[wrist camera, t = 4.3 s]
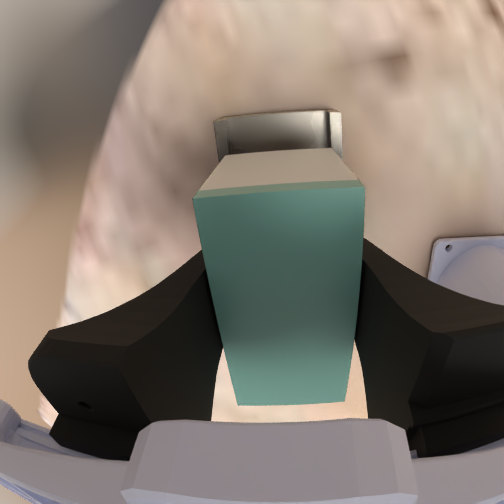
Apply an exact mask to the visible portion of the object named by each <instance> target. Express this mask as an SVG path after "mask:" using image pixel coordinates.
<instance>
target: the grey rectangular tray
mask: <svg viewBox="0 0 504 504" xmlns="http://www.w3.org/2000/svg"><path fill="white" fill-rule="evenodd" d="M214 129H215V136H216V144H217V151H218V158H219V163H220V162H221V160H222V159H223V158H224V157H225V155H234V154H245V153H255V152H267V151H281V150H297V149H316V148H332V149H333V150H334V151H335V152H336V153H337V154H338V156H339V157H340V158H341V159H342V160H343V145H342V124H341V112H339V111H336V110H334V109H321V110H298V111H282V112H269V113H257V114H247V115H238V116H229V117H222V118H220V119H218V120H216V121H214Z"/></svg>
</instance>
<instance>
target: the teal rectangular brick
mask: <svg viewBox="0 0 504 504" xmlns="http://www.w3.org/2000/svg"><path fill="white" fill-rule="evenodd" d="M192 200H193V205H194V210H195V216H196V221H197V226H198V231H199V237H200V242H201V247H202V252H203V257H204V262H205V266H206V271H207V276H208V281H209V285H210V290H211V295H212V299H213V304H214V308H215V313H216V317H217V322H218V326H219V331H220V335H221V339H222V343H223V348H224V352H225V356H226V360H227V364H228V368H229V372H230V376H231V381H232V384H233V388H234V392H235V396H236V400H237V404H238V405H299V404H317V403H331V402H343V401H345V396H346V390H347V384H348V378H349V372H350V366H351V359H352V352H353V345H354V337H355V329H356V320H357V311H358V302H359V291H360V280H361V267H362V252H363V233H364V206H365V187H364V185H363V184H362V183H361V182H360V181H359V179H358V178H357V177H356V176H355V174H354V173H353V172H352V171H351V170H350V168H349V167H348V166H347V165H346V164H345V163H344V161H343V160H342V159H341V158H340V157H339V156H338V154H337V153H336V152H335V151H334V150H333V149H332V148H316V149H297V150H281V151H267V152H255V153H245V154H234V155H225V157H224V158H223V159H222V160H221V162H220V163H219V164H218V165H217V167H216V168H215V169H214V171H213V172H212V173H211V175H210V176H209V177H208V178H207V180H206V181H205V182H204V184H203V185H202V186H201V188H200V189H199V190H198V192H197V193H196V194H195V196H194V197H193V198H192Z"/></svg>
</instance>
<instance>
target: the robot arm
mask: <svg viewBox="0 0 504 504" xmlns="http://www.w3.org/2000/svg"><path fill="white" fill-rule="evenodd" d="M449 244H450V245H449ZM447 245H449V247H448V248H447V249H445V248H446V246H447ZM354 340H355V343H356V347H357V350H358V354H359V357H360V361H361V366H362V371H363V378H364V385H365V393H366V402H367V411H368V419H358V418H347V419H337V420H324V421H309V422H284V423H239V422H214V421H211V416H212V407H213V398H214V390H215V382H216V375H217V370H218V365H219V361H220V357H221V353H222V349H223V343H222V339H221V335H220V331H219V326H218V322H217V317H216V313H215V308H214V304H213V299H212V295H211V290H210V285H209V281H208V276H207V271H206V266H205V262H204V257H203V252H202V250H201V251H200V252H198V253H197V254H196V255H195V256H193V257H192V258H191V259H190V260H189V261H187V262H186V263H185V264H184V265H182V266H181V267H180V268H179V269H178V270H176V271H175V272H173V273H172V274H171V275H169V276H168V277H167V278H165V279H164V280H163V281H161V282H160V283H159V284H157V285H156V286H154V287H153V288H151V289H150V290H148V291H146V292H145V293H143V294H141V295H140V296H138V297H136V298H134V299H132V300H130V301H128V302H126V303H124V304H122V305H120V306H118V307H116V308H114V309H112V310H110V311H108V312H105V313H103V314H100V315H98V316H95V317H92V318H90V319H87V320H84V321H81V322H78V323H75V324H71V325H67V326H64V327H60V328H57V329H53V330H49V331H48V333H47V334H46V335H45V337H44V338H43V340H42V341H41V343H40V344H39V346H38V347H37V349H36V350H35V351H34V353H33V354H32V356H31V357H30V359H29V361H28V368H29V371H30V374H31V377H32V379H33V381H34V382H35V384H36V385H37V387H38V388H39V390H40V391H41V392H42V393H43V395H44V396H45V397H46V399H47V400H48V401H49V402H50V404H51V405H52V406H53V407H54V409H55V410H56V411H57V412H58V413H59V414H58V416H57V418H56V420H55V422H54V424H53V426H52V429H47V428H45V427H42V426H39V425H36V424H34V423H31V422H28V421H26V420H23V419H21V417H20V415H19V414H18V413H17V412H16V411H15V410H14V409H13V408H12V407H11V406H10V405H9V404H8V403H6V402H4V401H2V400H0V484H1V485H2V486H4V487H6V488H7V489H9V490H11V491H12V492H14V493H16V494H18V495H19V496H21V497H22V498H24V499H26V500H28V501H30V502H31V503H33V504H504V235H502V236H483V237H464V238H446V239H438V240H437V241H436V242H435V243H434V245H433V250H432V256H431V262H430V267H429V273H428V278H427V279H426V278H425V277H423V276H421V275H419V274H417V273H415V272H413V271H412V270H410V269H409V268H407V267H405V266H404V265H402V264H401V263H399V262H398V261H396V260H395V259H393V258H392V257H390V256H389V255H387V254H386V253H385V252H383V251H382V250H380V249H379V248H378V247H376V246H375V245H374V244H372V243H371V242H369V241H368V240H367V239H365V238H363V252H362V267H361V280H360V291H359V302H358V311H357V320H356V329H355V337H354Z"/></svg>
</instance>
